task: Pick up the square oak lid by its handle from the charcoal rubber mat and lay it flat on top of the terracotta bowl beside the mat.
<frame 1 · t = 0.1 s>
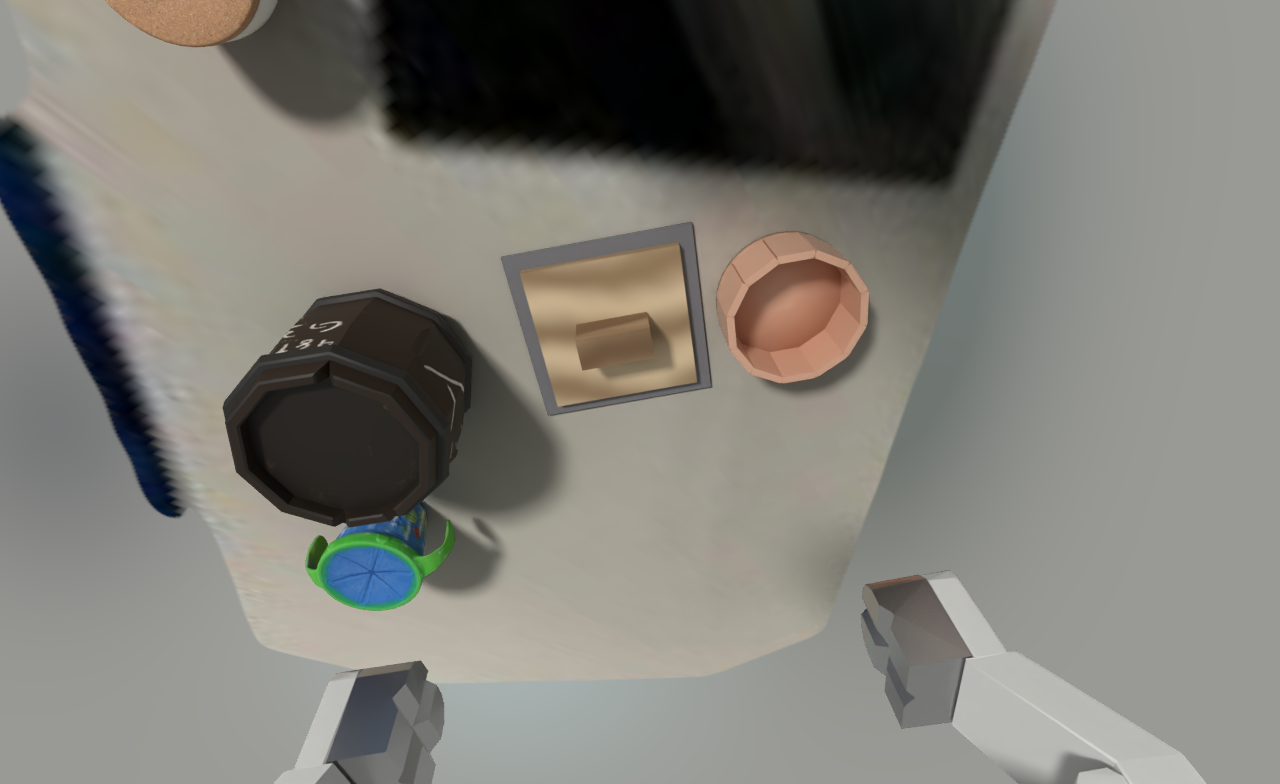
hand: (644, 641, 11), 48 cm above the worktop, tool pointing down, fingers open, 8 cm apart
snack cup: (396, 510, 71), on the worktop
bowl: (780, 295, 60), on the worktop
lid: (613, 327, 60), resting on mat
mat: (613, 325, 60), on the worktop
barrel: (393, 364, 61), on the worktop
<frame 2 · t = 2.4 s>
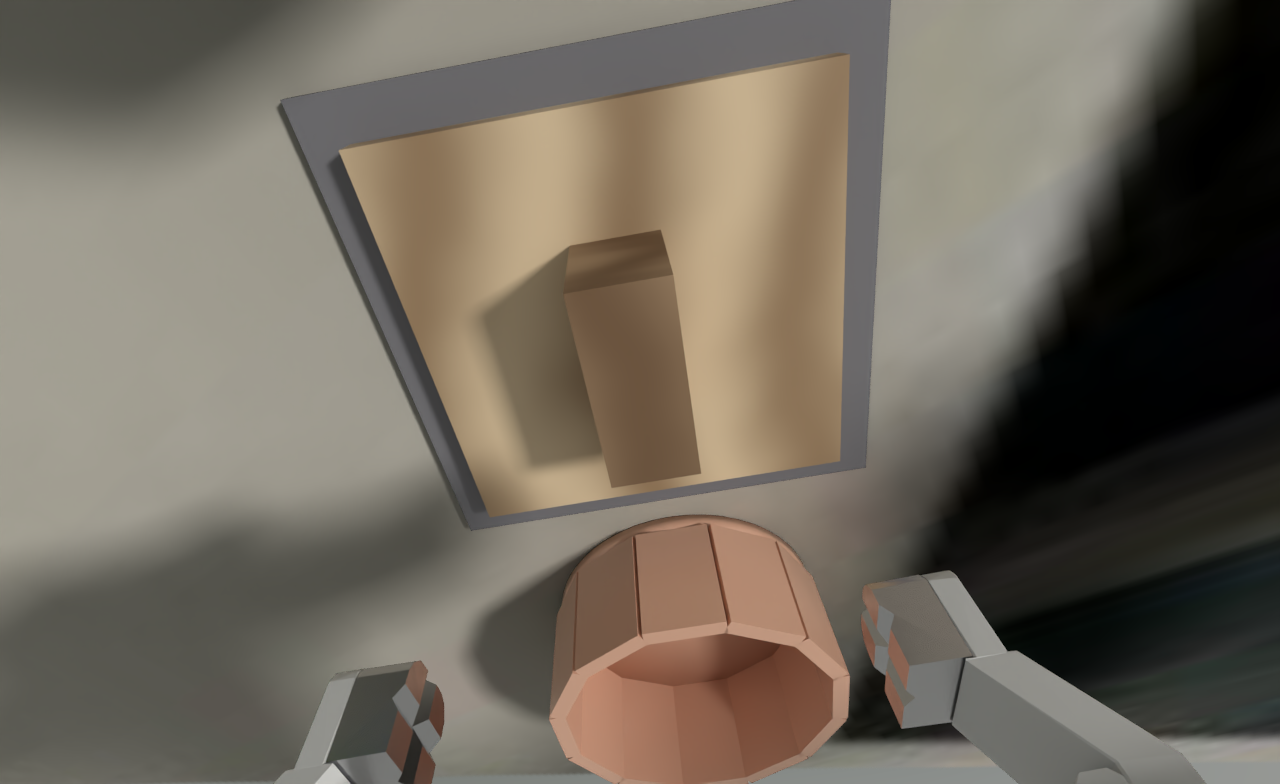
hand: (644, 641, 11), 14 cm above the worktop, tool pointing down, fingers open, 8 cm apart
bowl: (685, 605, 31), on the worktop
lid: (631, 320, 22), resting on mat
mat: (631, 316, 22), on the worktop
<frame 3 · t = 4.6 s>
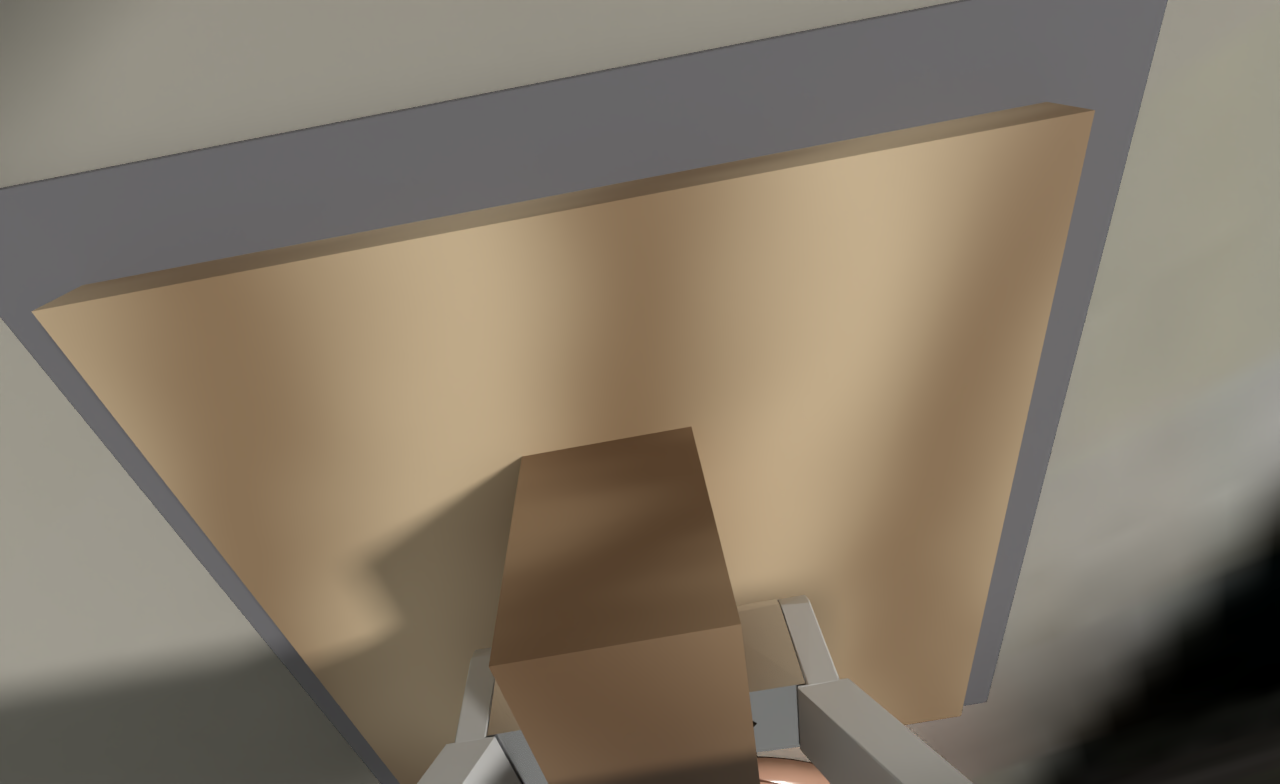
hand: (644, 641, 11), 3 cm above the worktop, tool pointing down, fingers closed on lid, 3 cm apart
lid: (636, 540, 13), resting on mat, touching gripper
mat: (633, 527, 13), on the worktop
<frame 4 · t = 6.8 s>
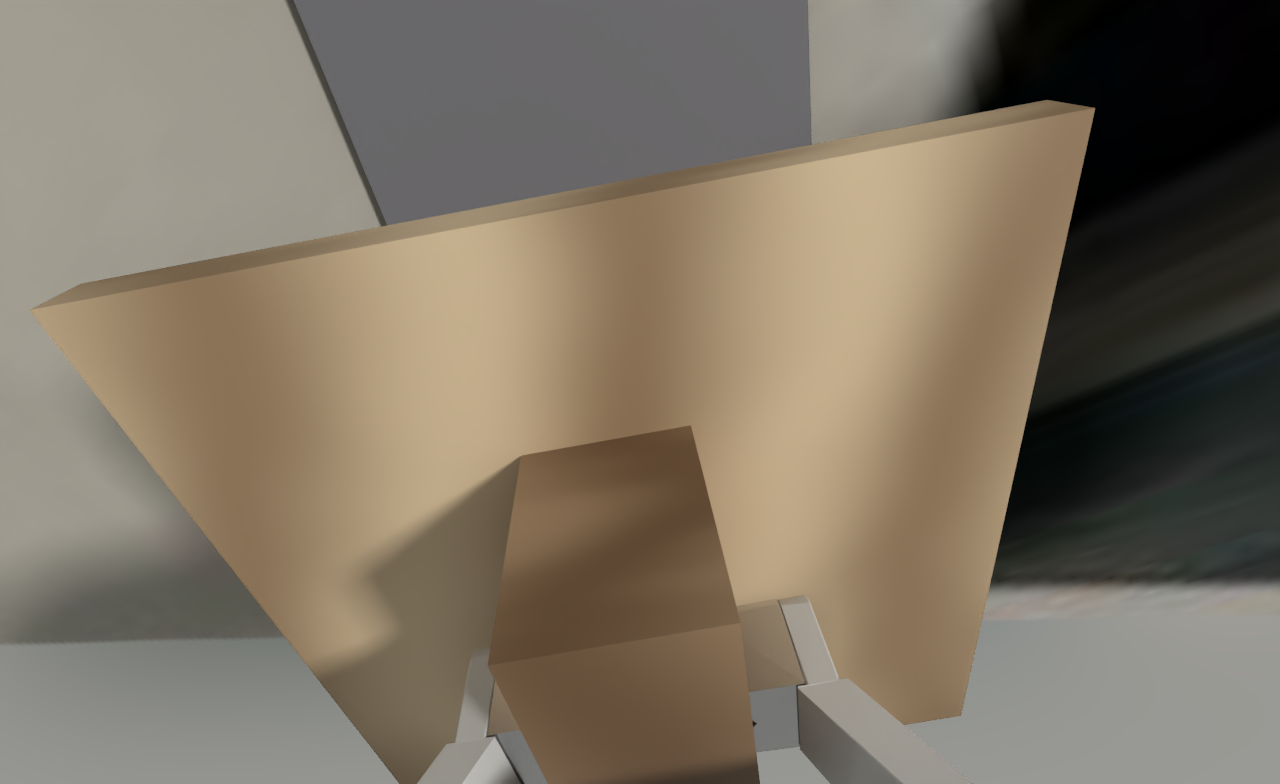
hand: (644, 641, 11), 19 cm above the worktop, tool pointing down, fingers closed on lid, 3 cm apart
lid: (635, 539, 13), point 17 cm above the worktop, touching gripper
mat: (569, 55, 23), on the worktop
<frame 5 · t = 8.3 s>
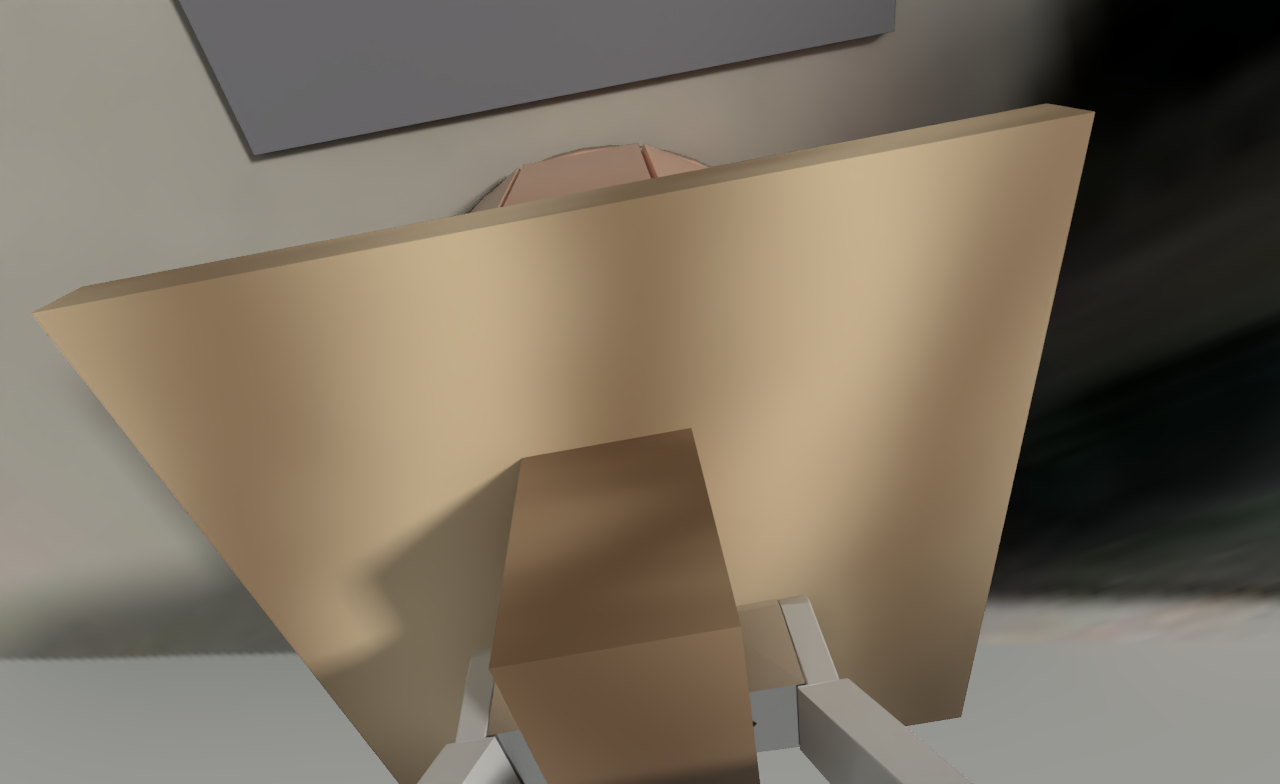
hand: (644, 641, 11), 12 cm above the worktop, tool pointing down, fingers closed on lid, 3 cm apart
bowl: (620, 341, 21), on the worktop
lid: (636, 541, 13), point 9 cm above the worktop, touching gripper
when the fingers open (10 cm above the worktop, at t = 9.3 s): lid drops 1 cm, resting on bowl.
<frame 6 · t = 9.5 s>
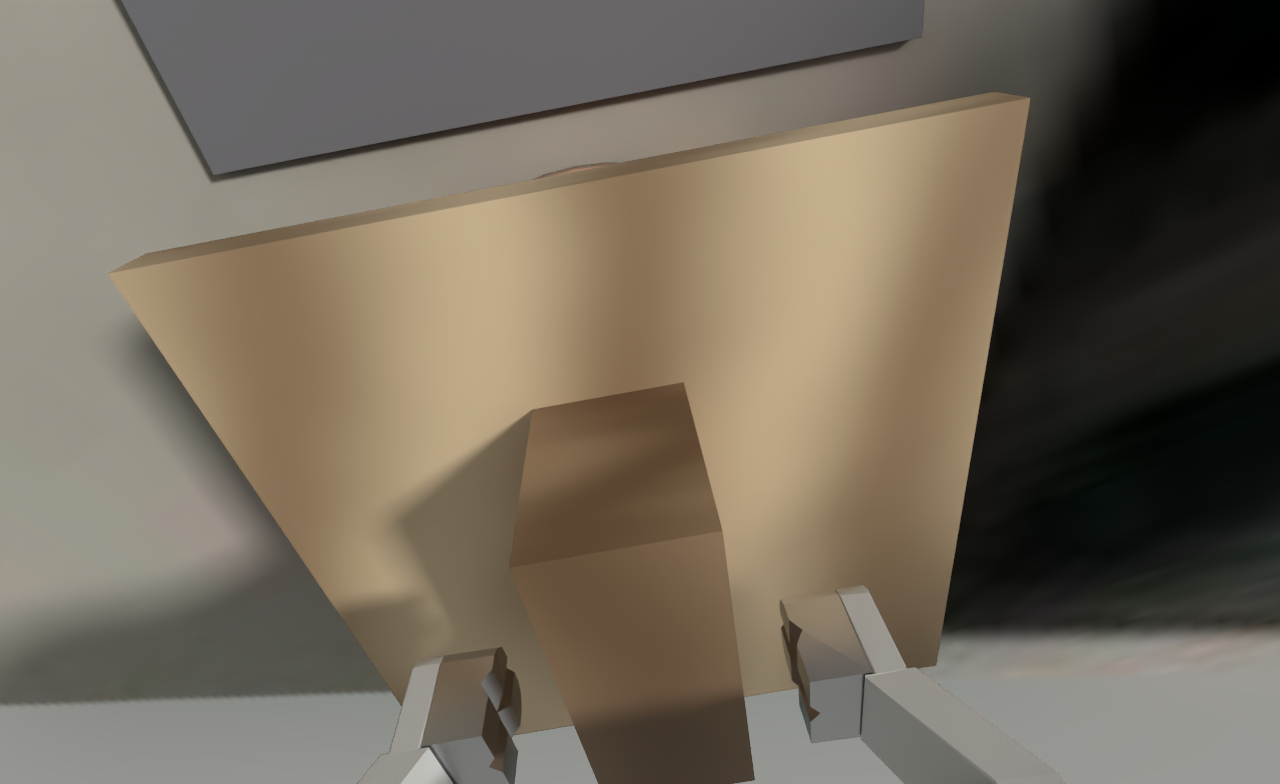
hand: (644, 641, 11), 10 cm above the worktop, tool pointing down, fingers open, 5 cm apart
lid: (634, 494, 14), point 6 cm above the worktop, touching bowl
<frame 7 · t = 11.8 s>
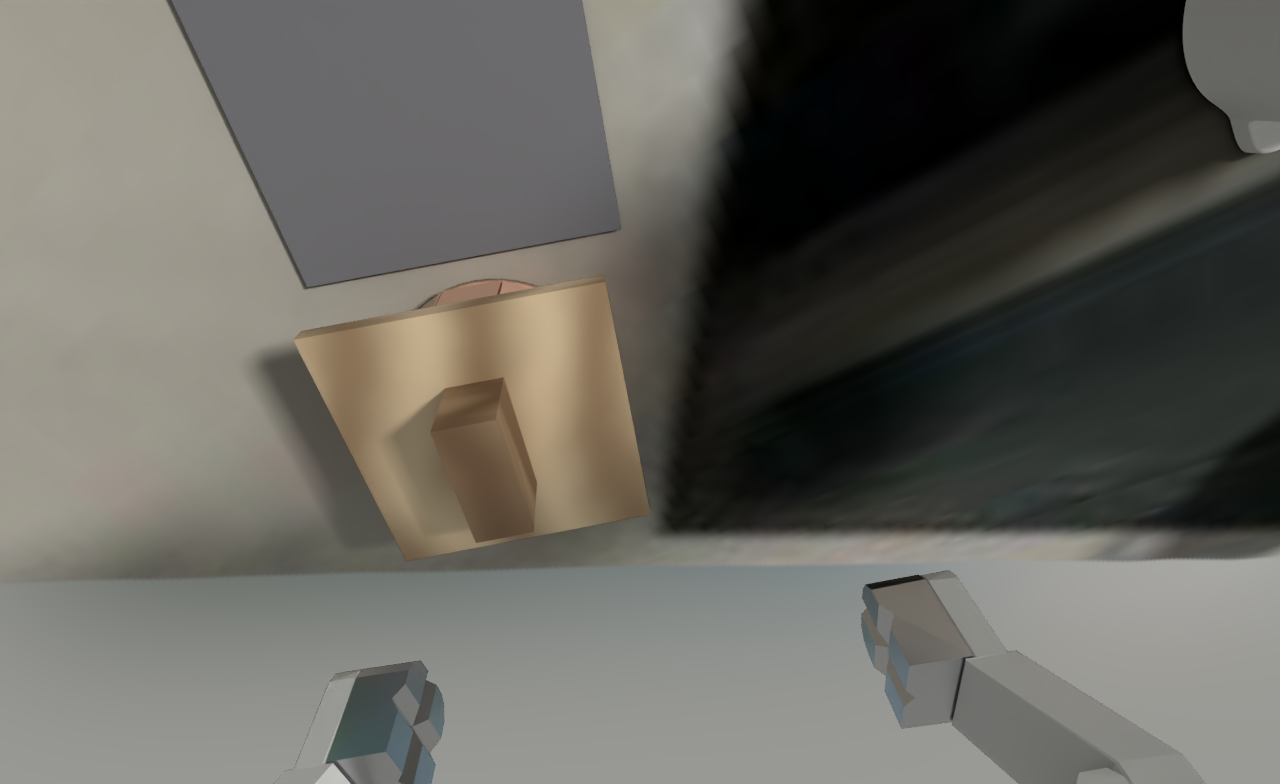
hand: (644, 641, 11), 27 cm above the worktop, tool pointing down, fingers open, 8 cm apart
bowl: (503, 376, 38), on the worktop
lid: (495, 427, 33), point 6 cm above the worktop, touching bowl
mat: (410, 80, 29), on the worktop
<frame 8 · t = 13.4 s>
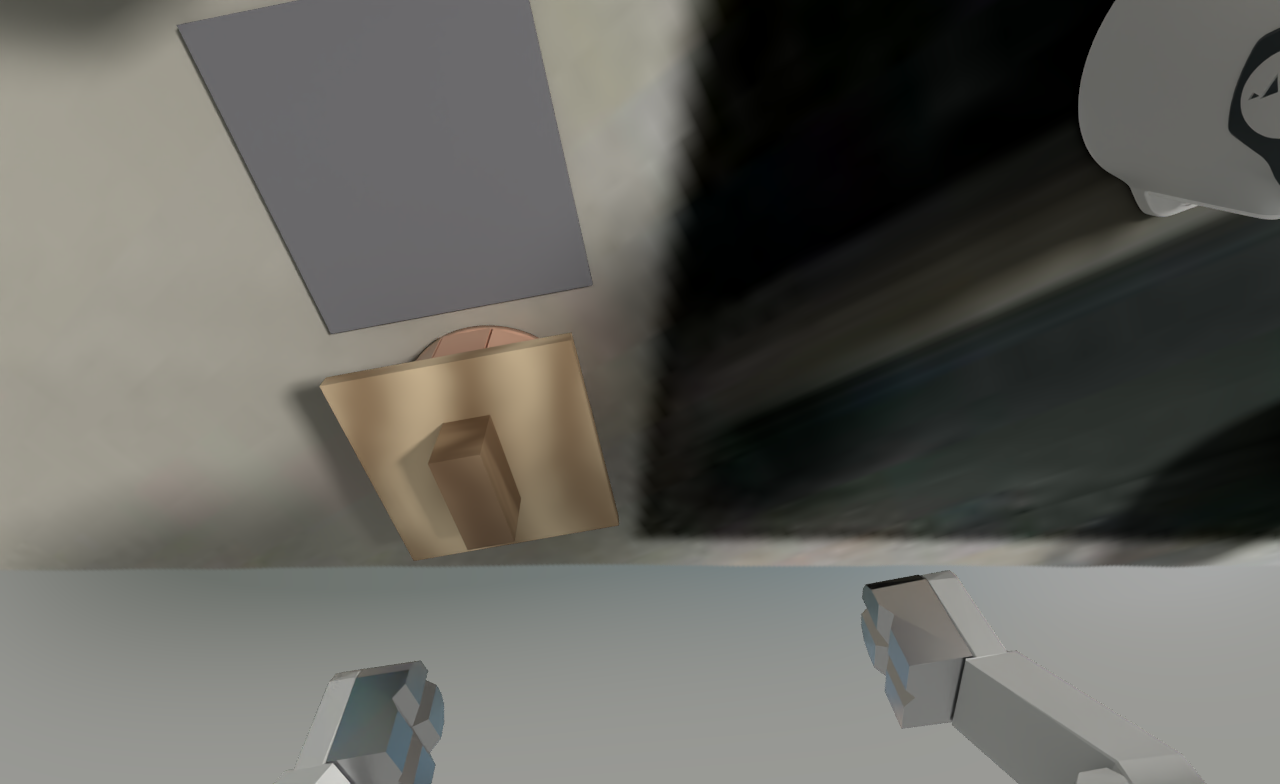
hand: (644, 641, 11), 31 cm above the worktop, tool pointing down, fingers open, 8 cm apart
bowl: (496, 404, 44), on the worktop
lid: (486, 453, 39), point 6 cm above the worktop, touching bowl
mat: (412, 170, 35), on the worktop
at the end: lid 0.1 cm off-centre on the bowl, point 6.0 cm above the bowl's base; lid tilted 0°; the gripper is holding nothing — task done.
